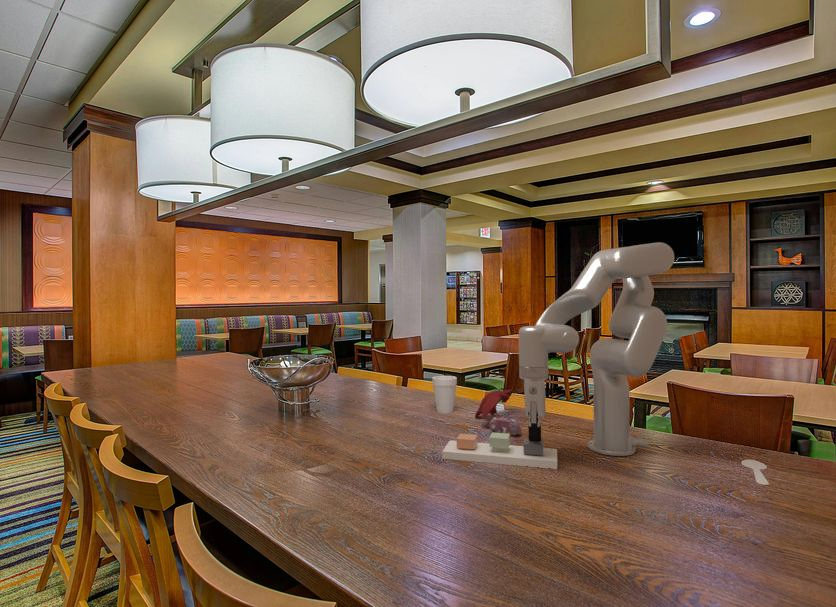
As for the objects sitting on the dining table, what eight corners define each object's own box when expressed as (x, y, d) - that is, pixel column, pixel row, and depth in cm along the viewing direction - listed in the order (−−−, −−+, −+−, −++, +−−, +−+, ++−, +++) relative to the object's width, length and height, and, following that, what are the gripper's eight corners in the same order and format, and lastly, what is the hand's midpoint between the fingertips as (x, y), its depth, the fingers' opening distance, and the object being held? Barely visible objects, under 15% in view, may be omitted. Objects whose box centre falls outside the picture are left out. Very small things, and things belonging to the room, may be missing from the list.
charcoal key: (543, 449, 126) (543, 439, 125) (543, 455, 121) (543, 445, 121) (524, 447, 127) (524, 438, 127) (523, 453, 122) (523, 444, 122)
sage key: (509, 442, 128) (509, 433, 128) (508, 448, 123) (508, 439, 123) (491, 441, 129) (491, 432, 129) (489, 446, 125) (489, 437, 125)
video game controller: (489, 438, 149) (486, 421, 146) (493, 428, 153) (490, 411, 150) (519, 442, 144) (516, 424, 142) (523, 432, 148) (520, 415, 145)
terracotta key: (477, 443, 131) (477, 434, 131) (474, 449, 126) (474, 440, 126) (460, 442, 132) (460, 433, 132) (456, 447, 127) (456, 438, 127)
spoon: (749, 483, 108) (749, 481, 108) (739, 459, 124) (739, 457, 124) (778, 488, 106) (777, 485, 106) (764, 463, 122) (764, 461, 121)
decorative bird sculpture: (475, 442, 154) (505, 412, 149) (456, 421, 157) (485, 391, 152) (499, 421, 179) (525, 395, 175) (482, 403, 182) (507, 377, 178)
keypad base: (557, 456, 127) (556, 448, 127) (557, 469, 117) (557, 461, 117) (450, 447, 135) (450, 440, 135) (442, 458, 126) (442, 451, 126)
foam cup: (428, 410, 180) (428, 376, 180) (449, 407, 184) (449, 374, 184) (439, 415, 172) (439, 380, 171) (461, 412, 175) (461, 378, 175)
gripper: (548, 377, 115) (549, 450, 116) (548, 368, 130) (549, 433, 130) (517, 377, 117) (518, 448, 118) (521, 367, 132) (522, 431, 132)
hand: (534, 440), depth 124 cm, fingers closed
